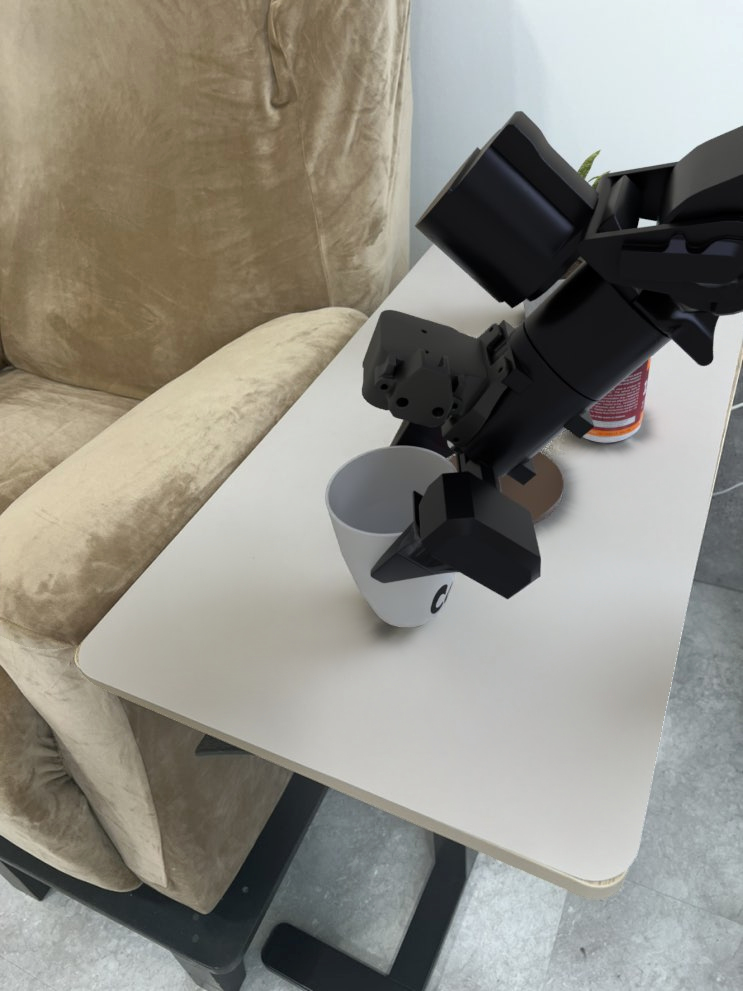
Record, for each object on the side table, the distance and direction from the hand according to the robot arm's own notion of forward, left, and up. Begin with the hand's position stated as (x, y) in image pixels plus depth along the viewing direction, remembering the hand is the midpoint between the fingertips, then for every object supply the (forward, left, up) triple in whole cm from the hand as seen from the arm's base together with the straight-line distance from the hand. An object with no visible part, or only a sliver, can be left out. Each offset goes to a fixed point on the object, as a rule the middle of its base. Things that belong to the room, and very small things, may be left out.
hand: (376, 529), depth 48 cm
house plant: (-10, -41, -8) cm, 43 cm away
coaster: (-6, -14, -8) cm, 17 cm away
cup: (-1, 0, -7) cm, 7 cm away
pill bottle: (-14, -23, -8) cm, 28 cm away
